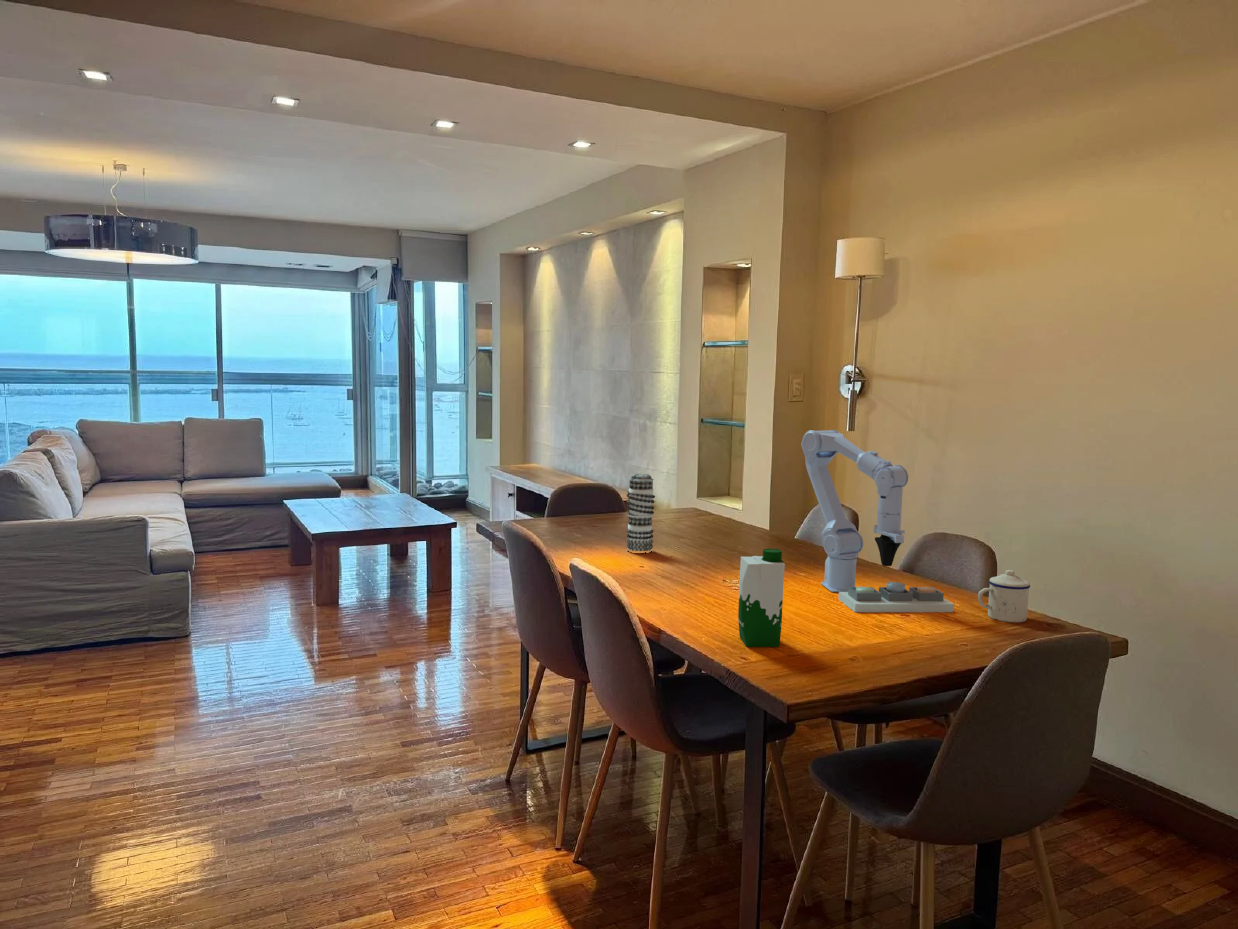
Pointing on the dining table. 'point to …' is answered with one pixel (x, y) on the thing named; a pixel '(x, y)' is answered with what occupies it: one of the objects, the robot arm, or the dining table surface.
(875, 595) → the button console
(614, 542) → the dining table surface
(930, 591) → the terracotta button
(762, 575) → the milk carton
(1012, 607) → the teacup with lid
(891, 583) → the dusty blue button
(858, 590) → the sage button
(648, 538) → the decorative candle
